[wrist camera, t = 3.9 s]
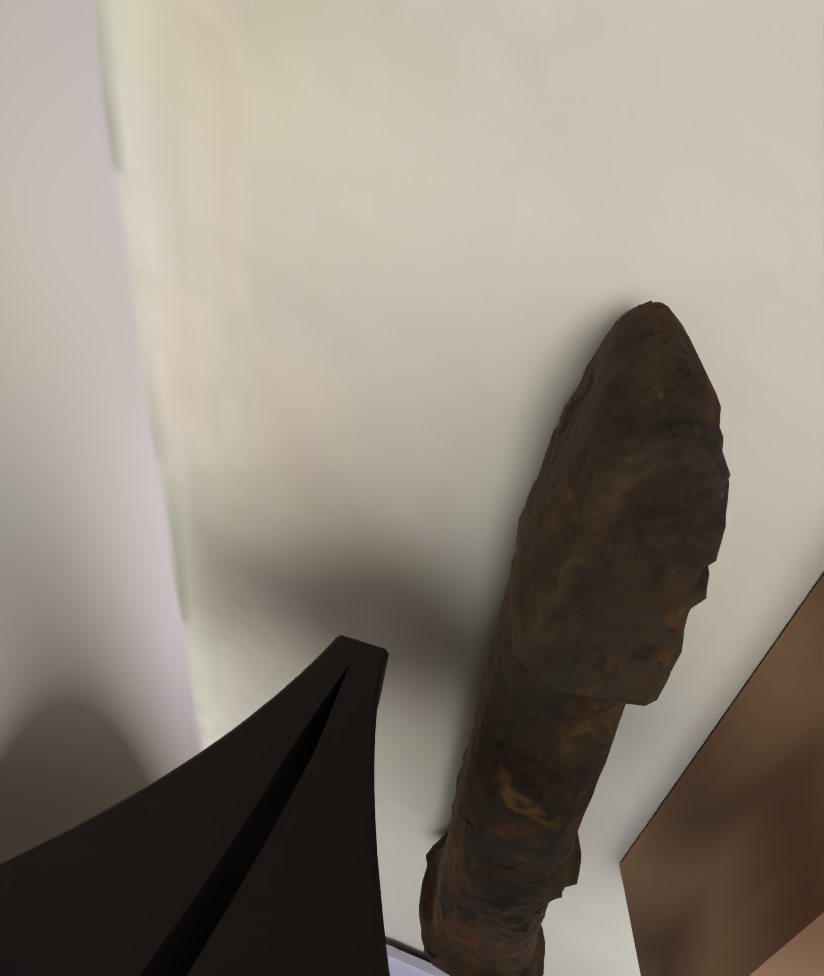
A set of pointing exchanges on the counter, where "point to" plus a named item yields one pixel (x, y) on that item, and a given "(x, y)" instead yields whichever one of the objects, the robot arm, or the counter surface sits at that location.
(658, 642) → the hand tool
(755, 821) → the stop rail
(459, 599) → the counter surface
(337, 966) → the robot arm
